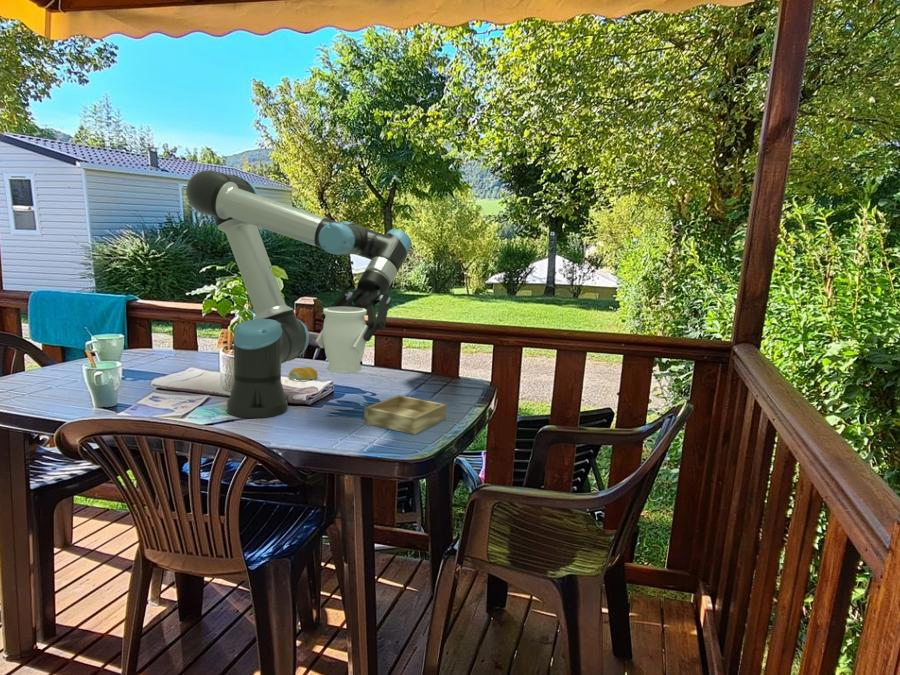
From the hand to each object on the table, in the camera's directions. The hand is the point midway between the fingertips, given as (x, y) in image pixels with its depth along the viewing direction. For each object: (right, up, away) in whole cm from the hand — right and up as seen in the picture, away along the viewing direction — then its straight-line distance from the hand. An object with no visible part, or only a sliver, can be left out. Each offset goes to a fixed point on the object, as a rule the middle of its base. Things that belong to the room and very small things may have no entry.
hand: (337, 347), depth 138 cm
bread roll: (-21, -11, +52) cm, 58 cm away
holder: (+15, -19, +13) cm, 28 cm away
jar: (+1, -6, +4) cm, 7 cm away
